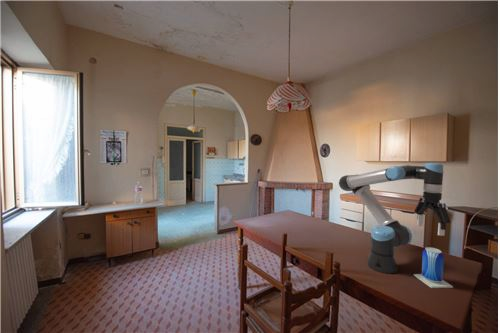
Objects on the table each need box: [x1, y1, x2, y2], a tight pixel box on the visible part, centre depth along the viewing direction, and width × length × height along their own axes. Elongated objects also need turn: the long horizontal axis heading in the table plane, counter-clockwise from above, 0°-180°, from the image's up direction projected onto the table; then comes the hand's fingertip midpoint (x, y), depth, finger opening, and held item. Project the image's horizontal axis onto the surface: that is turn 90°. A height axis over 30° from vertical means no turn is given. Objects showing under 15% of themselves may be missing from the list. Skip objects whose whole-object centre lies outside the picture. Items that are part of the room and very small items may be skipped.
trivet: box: [413, 273, 454, 289], centre depth 111 cm, size 11×11×1 cm
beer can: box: [421, 246, 445, 283], centre depth 111 cm, size 8×8×16 cm
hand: (430, 230), depth 114 cm, fingers open, 13 cm apart
